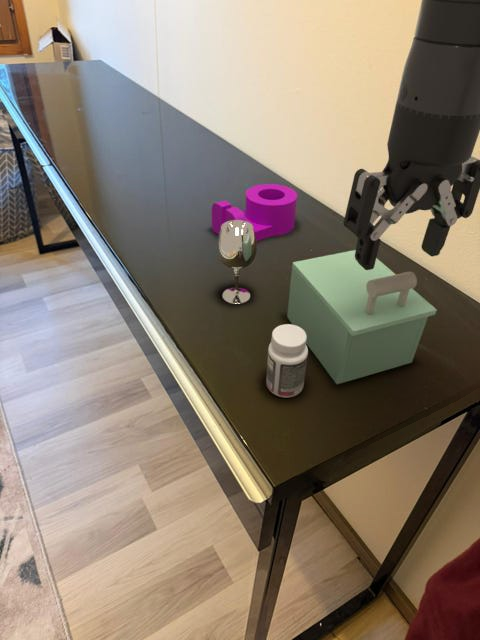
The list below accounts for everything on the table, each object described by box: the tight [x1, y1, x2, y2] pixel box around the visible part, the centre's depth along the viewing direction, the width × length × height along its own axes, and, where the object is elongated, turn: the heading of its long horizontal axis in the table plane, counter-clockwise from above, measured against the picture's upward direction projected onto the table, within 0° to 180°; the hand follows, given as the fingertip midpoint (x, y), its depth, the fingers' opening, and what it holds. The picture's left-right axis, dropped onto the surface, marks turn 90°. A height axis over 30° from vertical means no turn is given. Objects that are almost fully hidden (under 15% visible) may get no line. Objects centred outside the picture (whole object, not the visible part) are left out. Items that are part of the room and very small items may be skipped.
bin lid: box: [291, 249, 438, 336], centre depth 57 cm, size 16×12×5 cm
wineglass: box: [216, 220, 258, 305], centre depth 68 cm, size 6×6×12 cm
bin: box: [286, 267, 429, 385], centre depth 62 cm, size 15×12×9 cm
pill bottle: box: [265, 323, 309, 399], centre depth 55 cm, size 5×5×8 cm
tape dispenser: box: [211, 183, 298, 242], centre depth 88 cm, size 16×10×6 cm, turn 125°
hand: (397, 259), depth 50 cm, fingers open, 8 cm apart
